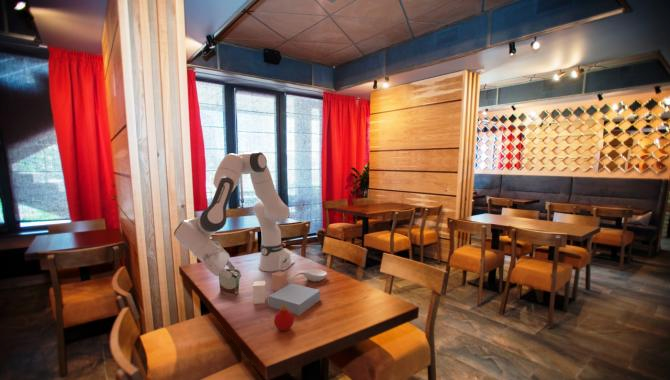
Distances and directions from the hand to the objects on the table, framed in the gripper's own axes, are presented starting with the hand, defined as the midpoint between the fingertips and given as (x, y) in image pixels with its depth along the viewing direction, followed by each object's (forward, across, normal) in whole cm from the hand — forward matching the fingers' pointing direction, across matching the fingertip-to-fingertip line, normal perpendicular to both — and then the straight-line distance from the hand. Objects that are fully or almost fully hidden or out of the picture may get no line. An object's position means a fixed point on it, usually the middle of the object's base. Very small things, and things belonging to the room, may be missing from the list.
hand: (232, 272), depth 129 cm
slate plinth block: (+29, -5, -9) cm, 30 cm away
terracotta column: (+24, +11, -5) cm, 27 cm away
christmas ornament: (+25, -25, -5) cm, 36 cm away
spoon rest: (+34, +18, -14) cm, 41 cm away
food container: (+8, +12, +11) cm, 19 cm away
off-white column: (+18, 0, +2) cm, 18 cm away
